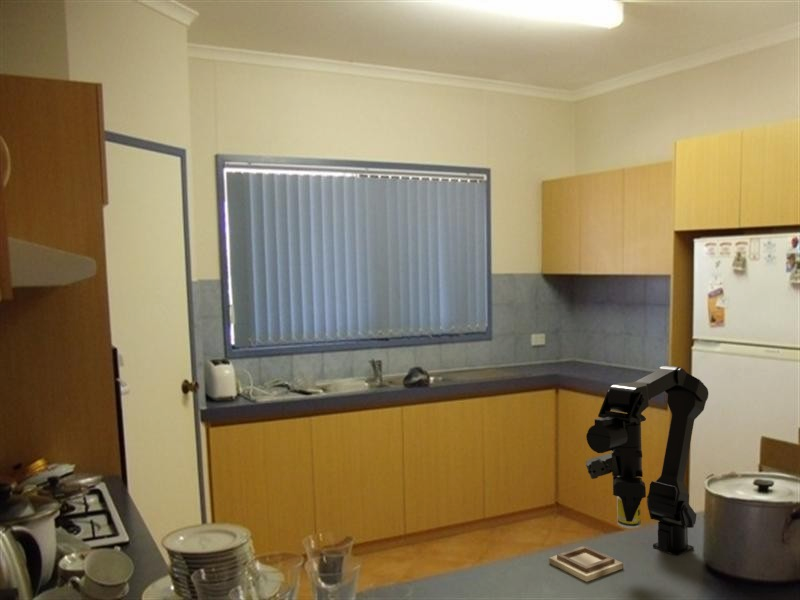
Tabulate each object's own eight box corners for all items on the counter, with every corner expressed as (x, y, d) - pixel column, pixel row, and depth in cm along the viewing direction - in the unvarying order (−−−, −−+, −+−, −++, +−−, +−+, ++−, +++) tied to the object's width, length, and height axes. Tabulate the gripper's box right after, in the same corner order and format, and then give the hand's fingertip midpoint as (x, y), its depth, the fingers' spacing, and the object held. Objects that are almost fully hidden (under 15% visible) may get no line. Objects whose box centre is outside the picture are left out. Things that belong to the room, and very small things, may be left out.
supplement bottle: (642, 529, 137) (642, 489, 136) (619, 528, 137) (618, 489, 137) (638, 520, 141) (637, 482, 141) (615, 520, 142) (614, 482, 142)
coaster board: (584, 551, 151) (584, 542, 150) (622, 568, 141) (622, 559, 141) (549, 563, 145) (548, 554, 145) (586, 581, 135) (586, 572, 135)
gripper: (588, 432, 150) (590, 500, 151) (586, 453, 132) (588, 530, 133) (640, 434, 147) (641, 503, 147) (645, 456, 129) (646, 534, 129)
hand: (628, 517), depth 139 cm, fingers closed on supplement bottle, 5 cm apart
